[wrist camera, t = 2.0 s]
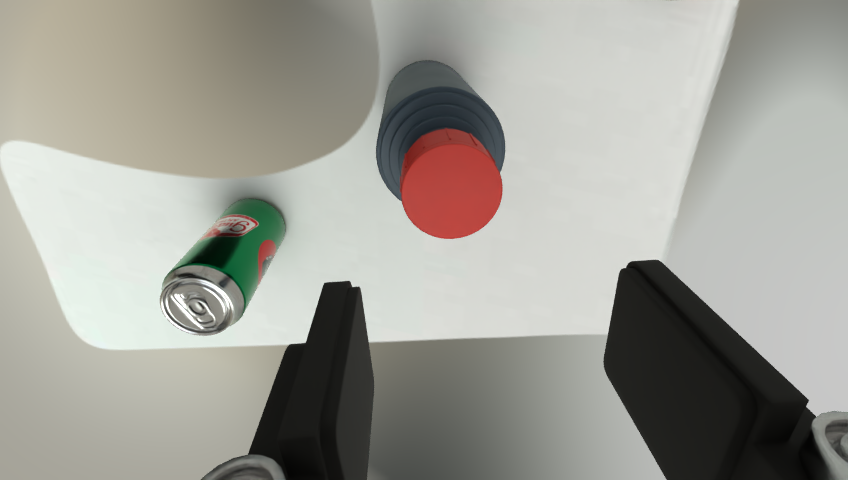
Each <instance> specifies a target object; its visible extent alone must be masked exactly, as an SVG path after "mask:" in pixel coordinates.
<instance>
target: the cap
mask: <svg viewBox="0 0 848 480" xmlns="http://www.w3.org/2000/svg"><path fill="white" fill-rule="evenodd" d="M495 163H496V162H495V160H494V159H493V157H492V156H491V154H490V152H489V151H488V149H487V150H486V149H485V148H484V146H483V145H482V144H481V143H480V141H479V140H477V139H476V138H475V137H473V136H472V134H471V133H469V134H468V133H466V132H464V131H460V130H456V129H447V128H445V129H440V130H436V131H433V132H430V133H428V134H426V135H424V136H423V135H422V136H421V138H420V139H418V140H417V141H416V142H415V143H414V144H413V145H412V146H411V148H410V149H409V150H408V152H407V154H406V153H405V158H404V161H403V164H402V171H401V176H400V193H401V198H402V204H403V207H404V210H405V212H406V214H407V216H408V217H409V219H410V220H411V221H412V223H413V224H414V225H415V226H416V227H417V228H419V229H420V230H422V231H423V232H425V233H427V234H429V235H432V236H434V237H438V238H445V239H454V238H461V237H465V236H468V235H471V234H473V233H475V232H477V231H478V230H480V229H481V228H483V227H484V226H485V225H486V224H487V223H488V222H489V221H490V220H491V219H492V218H493V216H494V215H495V213H496V211H497V210H498V207H499V205H500V202H501V198H502V179H501V176H500V173H499V171H498V168H497V167H496V165H495Z"/></svg>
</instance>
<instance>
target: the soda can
mask: <svg viewBox="0 0 848 480" xmlns="http://www.w3.org/2000/svg"><path fill="white" fill-rule="evenodd" d="M284 236H285V224H284V221H283V218H282V217H281V215H280V214H279V212H278V211H277V210H276V209H275V208H274V207H272V206H271V205H269V204H268V203H266V202H264V201H261V200H257V199H243V200H239V201H237V202H235V203H233V204H232V205H231V206H230V207H228V209H227V210H226V211H225V212H224V213H223V214H222V215H221V216H220V217H219V218H218V220H217V221H216V222H215V223H214V224H213V225H212V226H211V227H210V228H209V229H208V230H207V232H206V233H205V234H204V235H203V236H202V237H201V238H200V239H199V240H198V241H197V243H196V244H195V245H194V246H193V247H192V248H191V249H190V250H189V251H188V252H187V253H186V255H185V256H184V257H183V258H182V259H181V260H180V261H179V262H178V263H177V264H176V266H175V267H174V268H173V269H172V270H171V271H170V272H169V273H168V274H167V276H166V277H165V279H164V281H163V285H162V293H161V296H160V306H161V310H162V312H163V314H164V315H165V317H166V318H167V319H168V320H169V322H171V323H172V324H173V325H174V326H176V327H177V328H179V329H181V330H182V331H185V332H187V333H190V334H194V335H203V336H207V335H214V334H217V333H220V332H222V331H224V330H225V329H226V328H227V327H229V326H231V325H233V324H234V323H236V322H237V321H238V320H239V319H240V318H241V317H242V315H243V313H244V312H245V310H246V308H247V306H248V304H249V302H250V300H251V299H252V297H253V295H254V293H255V291H256V289H257V287H258V285H259V284H260V282H261V280H262V278H263V276H264V274H265V272H266V271H267V269H268V267H269V265H270V263H271V261H272V259H273V258H274V256H275V254H276V252H277V250H278V248H279V246H280V244H281V243H282V241H283V239H284Z"/></svg>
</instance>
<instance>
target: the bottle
mask: <svg viewBox="0 0 848 480" xmlns="http://www.w3.org/2000/svg"><path fill="white" fill-rule="evenodd" d="M445 128H447V129H456V130H460V131H464V132H466V133H468V134H469V133H471V134H472V136H473V137H475V138H476V139H477V140H479V141H480V143H481V144H482V145H483V146H484V148H485V149H486V150H487V149H488V151H489V152H490V154H491V156H492V157H493V159H494V160H495V162H496V163H495V165H496V167H497V168H498V171H499V173H500V171H501V169H502V166H503V162H504V156H505V139H504V133H503V130H502V127H501V124H500V122H499V120H498V118H497V116H496V115H495V113H494V112H493V110H492V109H491V108H490V107H489V106H488V105H487V103H486V102H485V101H484V100H483V99H482V98H481V97H480V96H479V95H478V94H477V93H476V92H475V91H474V90H473V89H472V88H471V87H470V86H469V85H468V84H467V83H466V82H465V81H464V80H463V79H462V78H461V77H460V75H459V74H458V73H457V72H455V71H454V70H453V69H452V68H450V67H449V66H447V65H445V64H443V63H440V62H436V61H419V62H415V63H413V64H410V65H408V66H407V67H405V68H404V69H402V70H401V71H400V72H399V73H398V74H397V75H396V76H395V77H394V79H393V80H392V82H391V84H390V86H389V88H388V91H387V95H386V99H385V104H384V109H383V114H382V119H381V124H380V129H379V134H378V139H377V146H376V158H377V165H378V168H379V172H380V174H381V177H382V179H383V181H384V183H385V184H386V186H387V187H388V189H389V190H390V191H391V192H392V193H393V194H394V195H395V196H396V197H397V198H398V199H399V200H401V201H402V198H401V193H400V176H401V171H402V164H403V161H404V158H405V153H406V154H407V152H408V150H409V149H410V148H411V146H412V145H413V144H414V143H415V142H416V141H417V140H418V139H420V138H421V136H422V135H423V136H424V135H426V134H428V133H430V132H433V131H436V130H440V129H445Z"/></svg>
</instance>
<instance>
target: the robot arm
mask: <svg viewBox="0 0 848 480" xmlns="http://www.w3.org/2000/svg"><path fill="white" fill-rule="evenodd" d="M604 368H605V372H606V374H607V376H608V378H609V380H610V381H611V383H612V385H613V387H614V389H615V390H616V392H617V394H618V396H619V397H620V399H621V401H622V403H623V404H624V406H625V408H626V409H627V411H628V413H629V415H630V416H631V418H632V420H633V422H634V423H635V425H636V427H637V429H638V430H639V432H640V434H641V436H642V437H643V439H644V441H645V443H646V444H647V446H648V448H649V450H650V451H651V453H652V455H653V456H654V458H655V460H656V462H657V464H658V465H659V467H660V469H661V470H662V472H663V474H664V476H665V477H666V479H667V480H848V412H837V411H832V412H827V413H822V414H820V415H819V416H817V417H816V416H815V415H814V414H813V413H812V412H811V411H810V410H809V409H808V408H807V407H806V405H807V403H808V401H809V400H808V399H807V398H806V397H805V396H804V395H803V394H802V393H801V392H800V391H799V390H797V389H796V388H795V387H794V386H793V385H792V384H791V383H790V382H789V381H788V380H787V379H786V378H785V377H784V376H783V375H782V374H780V373H779V372H778V371H777V370H776V369H775V368H774V367H773V366H772V365H771V364H770V363H769V362H768V361H767V360H766V359H764V358H763V357H762V356H761V355H760V354H759V353H758V352H757V351H756V350H755V349H754V348H752V346H750V345H749V344H748V343H747V342H746V341H745V340H744V339H743V338H742V337H741V336H740V335H739V334H738V333H737V332H736V331H734V330H733V329H732V328H731V327H730V326H729V325H728V324H727V323H726V322H725V321H724V320H723V319H722V318H720V317H719V315H717V314H716V313H715V312H714V311H713V310H712V309H711V308H710V307H709V306H708V305H707V304H706V303H705V302H704V301H702V300H701V299H700V298H699V297H698V296H697V295H696V294H695V293H694V292H693V291H692V290H691V289H690V288H689V287H688V286H686V285H685V284H684V283H683V282H682V281H681V280H680V279H679V278H678V277H677V276H676V275H674V273H672V272H671V271H670V270H669V269H668V268H667V267H666V266H665V265H664V264H663V263H662V262H660V261H659V260H646V261H632V262H630V263H629V264H628V265H627V267H626V268H623V269H621V271H620V273H619V277H618V283H617V288H616V294H615V299H614V305H613V310H612V316H611V321H610V327H609V332H608V338H607V343H606V349H605V354H604ZM373 396H374V377H373V370H372V363H371V356H370V350H369V342H368V336H367V329H366V322H365V315H364V308H363V302H362V295H361V289H360V287H352V285H351V282H350V281H342V282H328V283H324V285H323V288H322V292H321V295H320V298H319V301H318V305H317V308H316V311H315V315H314V318H313V321H312V324H311V328H310V331H309V334H308V338H307V341H306V343H301V344H290V345H289V346H288V347H287V349H286V351H285V353H284V356H283V359H282V361H281V364H280V367H279V370H278V373H277V375H276V378H275V381H274V384H273V386H272V389H271V392H270V395H269V397H268V400H267V403H266V406H265V409H264V412H263V414H262V417H261V420H260V422H259V426H258V428H257V431H256V434H255V437H254V439H253V442H252V445H251V448H250V450H249V453H248V455H245V456H241V457H237V458H233V459H231V460H229V461H227V462H224V463H222V464H220V465H218V466H217V467H216V468H214V469H213V470H212V471H210V472H209V473H208V474H206V475H205V476H204V477H203V478H202V479H201V480H367V470H368V458H369V446H370V434H371V421H372V409H373Z"/></svg>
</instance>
